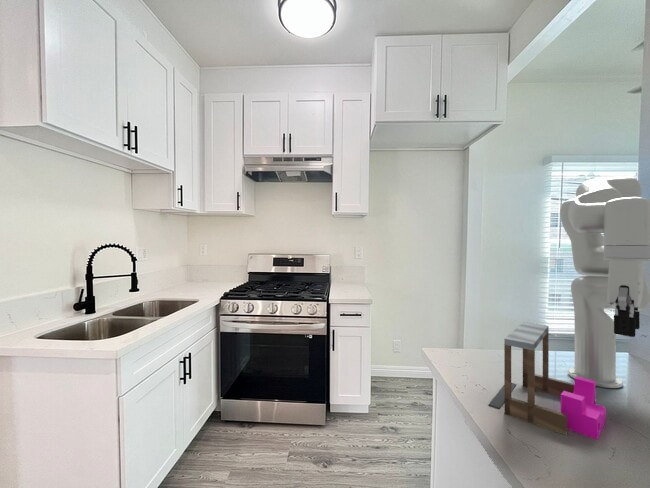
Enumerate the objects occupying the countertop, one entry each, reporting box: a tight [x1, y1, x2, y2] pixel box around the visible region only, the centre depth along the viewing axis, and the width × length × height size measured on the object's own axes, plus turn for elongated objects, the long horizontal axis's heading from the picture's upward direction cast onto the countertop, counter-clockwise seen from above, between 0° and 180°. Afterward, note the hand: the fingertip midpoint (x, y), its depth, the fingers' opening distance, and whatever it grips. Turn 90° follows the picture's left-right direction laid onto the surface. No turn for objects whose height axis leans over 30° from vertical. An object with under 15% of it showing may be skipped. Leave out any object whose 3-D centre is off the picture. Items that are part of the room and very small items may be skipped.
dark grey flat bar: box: [488, 382, 517, 410], centre depth 85 cm, size 18×2×1 cm, turn 136°
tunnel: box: [503, 321, 575, 436], centre depth 79 cm, size 21×12×18 cm, turn 136°
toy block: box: [560, 376, 607, 440], centre depth 72 cm, size 15×6×8 cm, turn 130°
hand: (627, 331), depth 68 cm, fingers open, 9 cm apart
